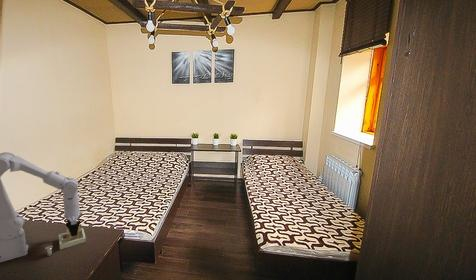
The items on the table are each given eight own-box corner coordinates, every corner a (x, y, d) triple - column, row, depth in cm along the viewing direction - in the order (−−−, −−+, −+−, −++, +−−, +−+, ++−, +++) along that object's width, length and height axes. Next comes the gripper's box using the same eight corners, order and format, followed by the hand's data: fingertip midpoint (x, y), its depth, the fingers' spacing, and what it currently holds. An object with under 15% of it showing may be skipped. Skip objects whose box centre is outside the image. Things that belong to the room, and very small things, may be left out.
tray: (60, 250, 104) (59, 245, 103) (59, 239, 111) (58, 234, 111) (86, 242, 110) (85, 237, 110) (83, 232, 117) (83, 228, 117)
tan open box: (63, 245, 106) (62, 235, 105) (63, 239, 110) (62, 229, 110) (81, 240, 111) (80, 230, 110) (80, 234, 115) (79, 225, 114)
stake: (46, 257, 99) (45, 248, 98) (46, 255, 100) (45, 246, 100) (53, 255, 101) (52, 246, 100) (53, 253, 102) (52, 244, 101)
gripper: (83, 209, 105) (85, 236, 107) (80, 197, 116) (81, 222, 118) (64, 213, 100) (66, 241, 103) (62, 200, 111) (64, 226, 114)
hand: (73, 231), depth 110 cm, fingers open, 7 cm apart
